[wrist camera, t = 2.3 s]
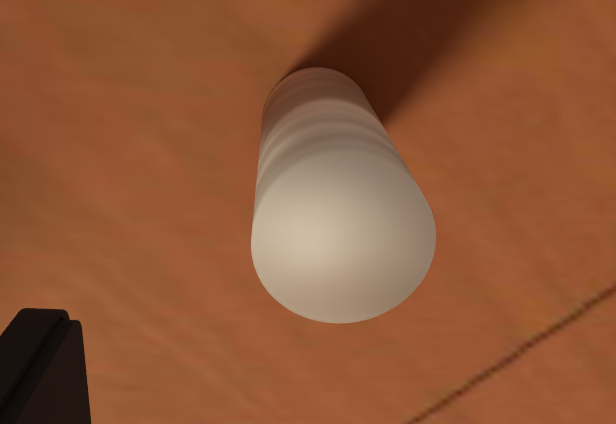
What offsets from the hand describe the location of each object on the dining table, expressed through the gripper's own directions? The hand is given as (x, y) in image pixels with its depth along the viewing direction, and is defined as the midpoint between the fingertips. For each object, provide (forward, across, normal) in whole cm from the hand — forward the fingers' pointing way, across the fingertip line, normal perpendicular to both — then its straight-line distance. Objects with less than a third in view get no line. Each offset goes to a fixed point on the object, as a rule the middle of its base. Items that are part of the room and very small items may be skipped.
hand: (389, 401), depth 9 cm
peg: (+14, 0, -1) cm, 14 cm away
